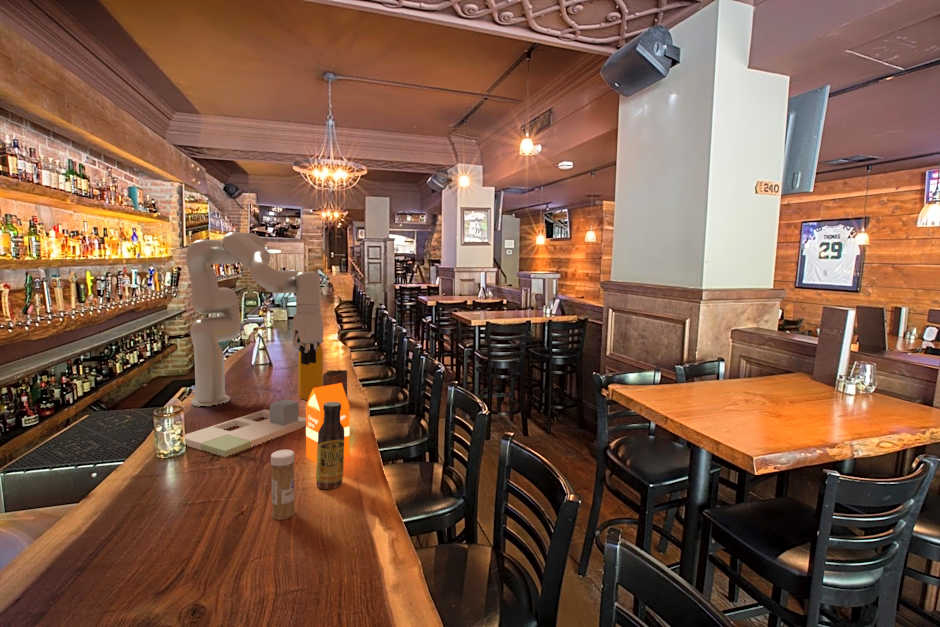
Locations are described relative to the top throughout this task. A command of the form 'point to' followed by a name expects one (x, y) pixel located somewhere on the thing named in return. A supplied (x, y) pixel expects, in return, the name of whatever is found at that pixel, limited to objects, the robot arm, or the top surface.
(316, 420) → the orange juice
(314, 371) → the beer bottle
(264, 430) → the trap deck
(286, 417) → the block
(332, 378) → the brown piece
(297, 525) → the top surface
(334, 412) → the sauce bottle
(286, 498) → the sprinkles bottle
